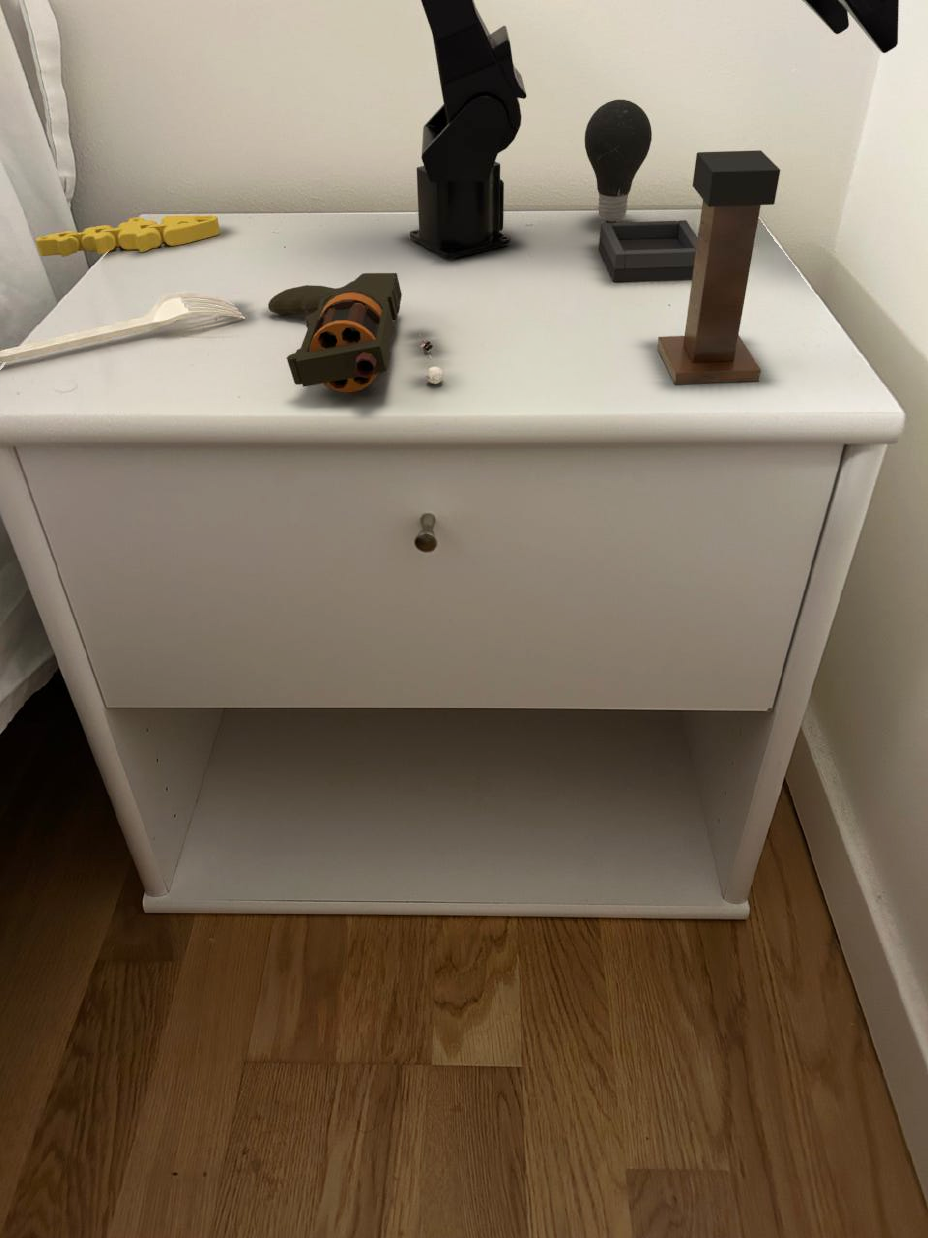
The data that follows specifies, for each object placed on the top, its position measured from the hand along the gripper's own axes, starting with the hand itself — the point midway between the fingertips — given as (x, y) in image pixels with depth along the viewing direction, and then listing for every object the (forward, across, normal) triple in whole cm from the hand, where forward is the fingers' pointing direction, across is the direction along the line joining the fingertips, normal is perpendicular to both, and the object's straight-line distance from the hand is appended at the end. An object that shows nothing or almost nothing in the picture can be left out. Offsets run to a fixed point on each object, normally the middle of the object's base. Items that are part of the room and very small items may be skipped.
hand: (865, 39), depth 77 cm
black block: (-4, -23, +16) cm, 28 cm away
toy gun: (-12, -18, +48) cm, 52 cm away
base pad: (+5, -4, +22) cm, 22 cm away
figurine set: (-5, -20, +37) cm, 42 cm away
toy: (-19, +8, +59) cm, 62 cm away
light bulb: (+4, +6, +22) cm, 24 cm away
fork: (-18, -15, +57) cm, 61 cm away
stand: (+5, -22, +22) cm, 32 cm away
